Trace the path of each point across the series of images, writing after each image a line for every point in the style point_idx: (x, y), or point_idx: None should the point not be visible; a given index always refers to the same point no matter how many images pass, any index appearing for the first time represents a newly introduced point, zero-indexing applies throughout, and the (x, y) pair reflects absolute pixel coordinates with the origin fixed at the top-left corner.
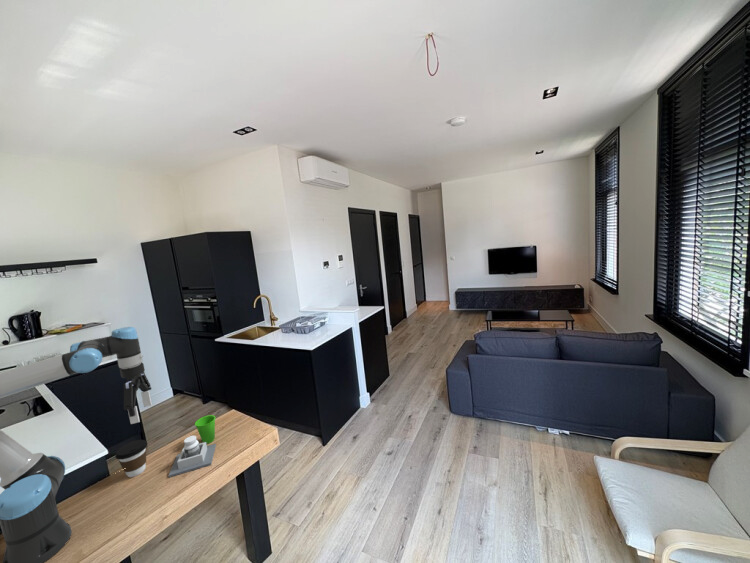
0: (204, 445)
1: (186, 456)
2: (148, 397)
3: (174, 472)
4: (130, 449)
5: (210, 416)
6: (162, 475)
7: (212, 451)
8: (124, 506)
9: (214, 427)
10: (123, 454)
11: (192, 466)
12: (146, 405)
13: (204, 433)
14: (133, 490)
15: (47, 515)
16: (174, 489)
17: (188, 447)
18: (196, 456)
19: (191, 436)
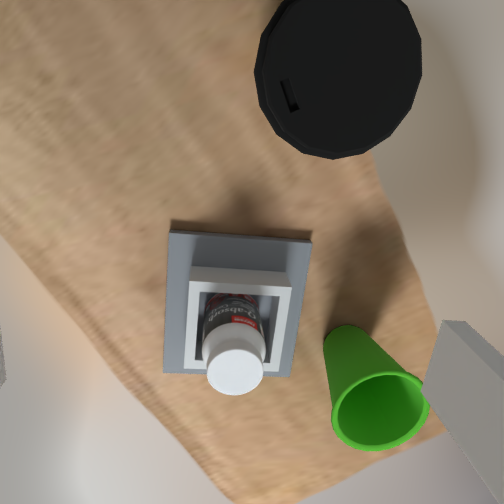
0: None
1: (213, 310)
2: (498, 481)
3: (178, 252)
4: (312, 76)
5: (411, 425)
6: (202, 200)
7: None
8: (63, 84)
9: (352, 407)
10: (275, 43)
11: (179, 313)
12: (441, 356)
13: (330, 374)
14: (160, 97)
15: None
16: (79, 262)
17: (205, 349)
18: (185, 349)
19: (256, 375)
